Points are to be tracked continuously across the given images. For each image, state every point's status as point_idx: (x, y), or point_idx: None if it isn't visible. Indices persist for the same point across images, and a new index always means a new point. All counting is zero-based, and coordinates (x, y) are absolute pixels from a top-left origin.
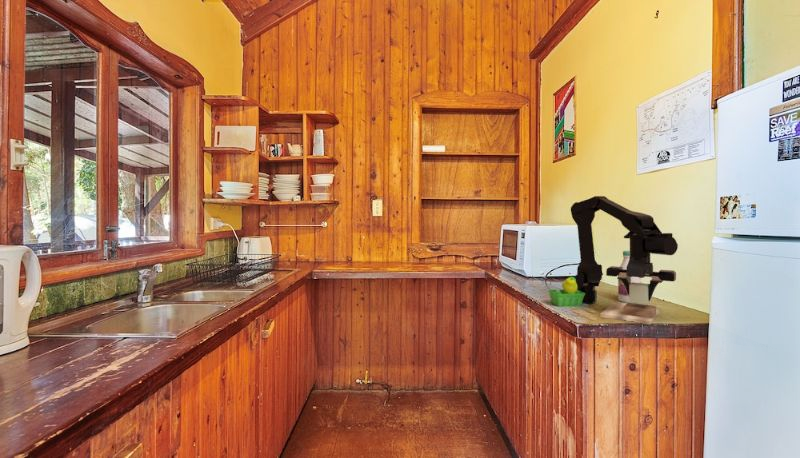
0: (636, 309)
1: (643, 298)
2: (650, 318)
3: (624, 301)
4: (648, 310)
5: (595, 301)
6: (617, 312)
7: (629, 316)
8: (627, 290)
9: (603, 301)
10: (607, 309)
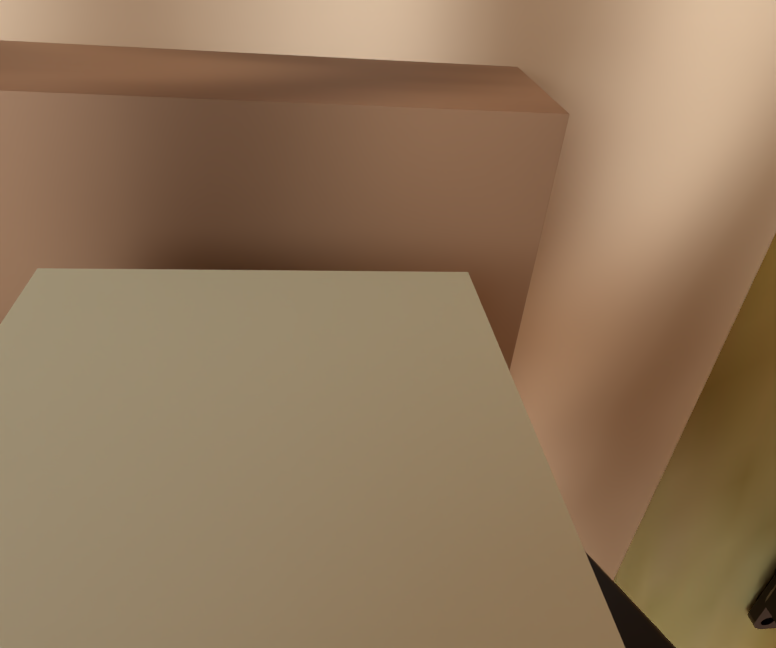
0: (284, 99)
1: (93, 366)
2: (27, 36)
3: None
4: (2, 84)
5: (765, 592)
6: (606, 157)
7: None
8: (615, 609)
9: (676, 638)
10: (736, 268)
